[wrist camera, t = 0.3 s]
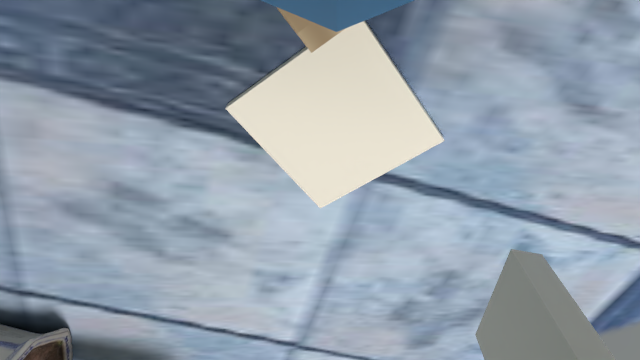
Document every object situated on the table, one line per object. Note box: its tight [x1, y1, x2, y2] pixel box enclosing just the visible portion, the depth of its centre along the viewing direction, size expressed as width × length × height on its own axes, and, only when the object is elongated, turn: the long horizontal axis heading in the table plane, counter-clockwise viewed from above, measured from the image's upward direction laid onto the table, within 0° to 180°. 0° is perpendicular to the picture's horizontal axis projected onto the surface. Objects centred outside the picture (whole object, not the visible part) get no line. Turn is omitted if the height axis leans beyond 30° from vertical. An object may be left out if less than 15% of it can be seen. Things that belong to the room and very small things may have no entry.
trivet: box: [225, 21, 444, 208], centre depth 38 cm, size 13×13×1 cm
